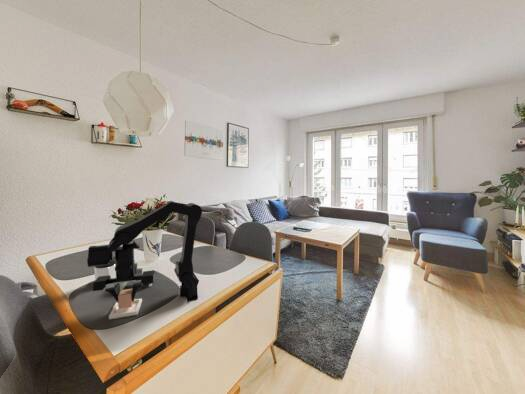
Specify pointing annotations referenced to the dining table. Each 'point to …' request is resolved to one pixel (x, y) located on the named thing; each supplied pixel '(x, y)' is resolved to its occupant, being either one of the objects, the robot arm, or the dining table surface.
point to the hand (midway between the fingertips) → (126, 302)
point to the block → (125, 299)
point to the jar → (106, 270)
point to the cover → (139, 272)
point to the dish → (125, 310)
